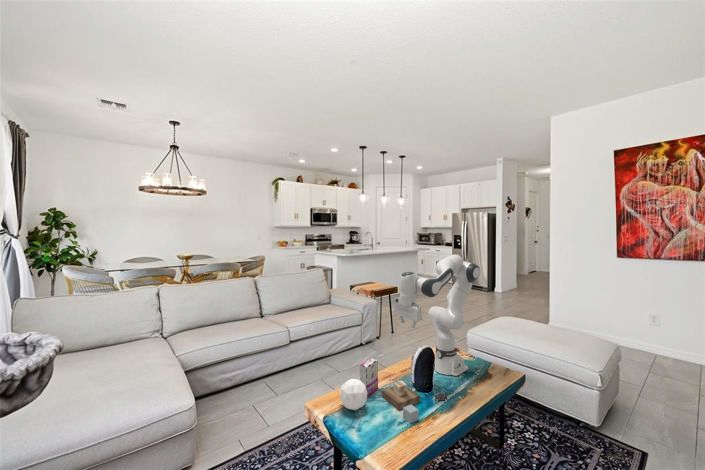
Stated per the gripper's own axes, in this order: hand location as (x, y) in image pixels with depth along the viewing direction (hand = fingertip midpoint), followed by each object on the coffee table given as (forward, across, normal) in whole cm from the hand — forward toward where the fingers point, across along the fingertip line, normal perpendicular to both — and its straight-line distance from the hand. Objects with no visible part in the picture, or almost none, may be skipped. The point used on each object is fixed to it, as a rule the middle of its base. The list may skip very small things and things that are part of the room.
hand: (407, 325), depth 170 cm
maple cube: (+32, -8, +12) cm, 35 cm away
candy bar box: (+35, +7, +22) cm, 42 cm away
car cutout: (+36, -21, -9) cm, 43 cm away
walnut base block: (+36, -8, +12) cm, 38 cm away
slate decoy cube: (+35, -23, +18) cm, 46 cm away
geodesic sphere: (+35, -3, +37) cm, 51 cm away
